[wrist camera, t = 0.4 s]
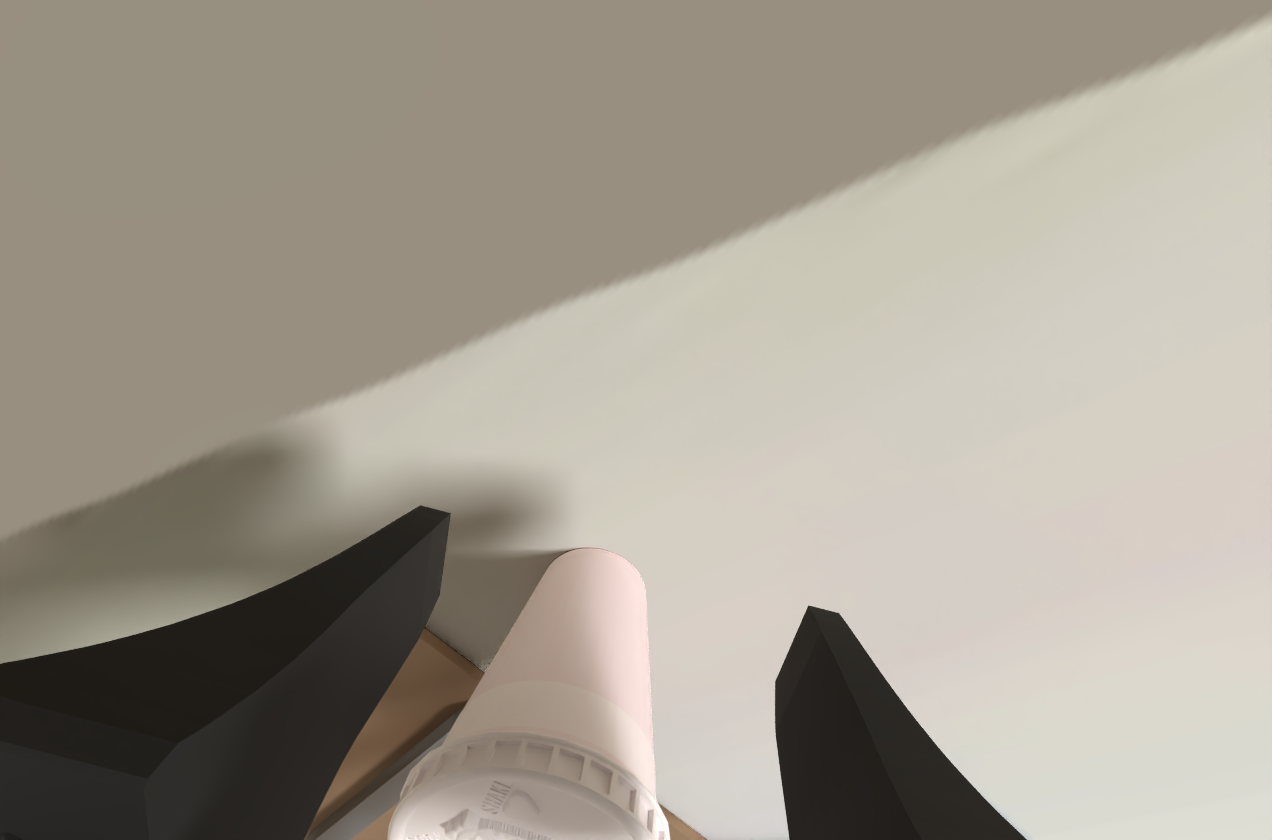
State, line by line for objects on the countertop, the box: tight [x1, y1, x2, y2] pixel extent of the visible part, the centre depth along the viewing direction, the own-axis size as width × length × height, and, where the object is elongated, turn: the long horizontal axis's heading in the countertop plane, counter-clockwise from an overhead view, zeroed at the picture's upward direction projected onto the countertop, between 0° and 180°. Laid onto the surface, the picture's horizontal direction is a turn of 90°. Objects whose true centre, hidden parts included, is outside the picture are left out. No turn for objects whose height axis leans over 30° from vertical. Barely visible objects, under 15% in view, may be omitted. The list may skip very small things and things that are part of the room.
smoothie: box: [387, 548, 670, 840], centre depth 17 cm, size 6×6×14 cm
